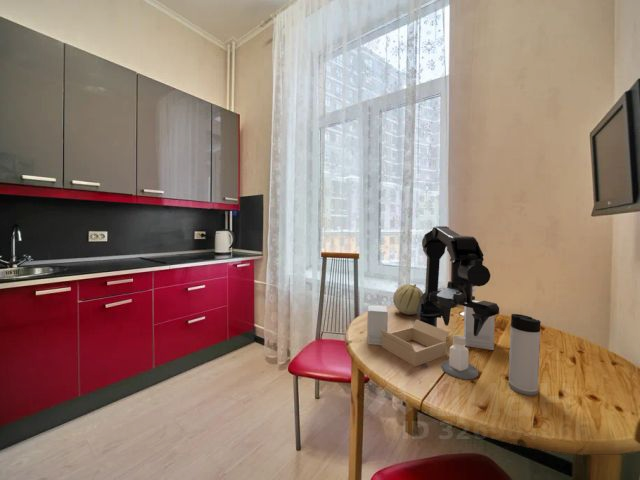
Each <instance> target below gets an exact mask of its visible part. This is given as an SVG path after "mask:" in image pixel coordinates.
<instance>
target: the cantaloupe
mask: <svg viewBox="0 0 640 480" xmlns="http://www.w3.org/2000/svg"><path fill="white" fill-rule="evenodd" d="M423 294H424V292H423V291H422V289H420V288H419V287H417V283H414V285H413V284H408V283H405V284H402V285H400V286H399V287H398V288H397V289H396V290H394V293H393V298H392V299H393V301H392V302H393V305H394V306H395V308H396V309H397V311H399V312H400V313H402V314H405V315H406V316H407V315H408V316H413V315H418V314H417V307H418V305H419V303H420V299H421V296H422V295H423Z"/></svg>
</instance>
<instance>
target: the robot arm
mask: <svg viewBox="0 0 640 480" xmlns="http://www.w3.org/2000/svg"><path fill="white" fill-rule="evenodd" d="M421 247H422V251H423V252H424V255H425V256H426V268H425V269H426V270H425V272H426V273H425V286H424V287H425V290H424V292H423V295H422V296H421V299H420V303H419V305H418V307H417V314H416V315H417V316H418V317H419V318H420V320H419V321H422V322H424V323H427V324H429V325H432V326H435V327H437V325H438V319H442V321H443V324H444V326H449V324H450V318H451V311H452V309H454V308H455V307H456V306H458V305H459V306H463V307H464V306H466V307H469V308H473V311H474V312H475V313H474V314H472V316H473V317H474V336H477V335H478V334H479V332H480V330H481V328H482V327H483V325H484V323H485V322H486V320H487V319H488V318H489V317H491V316H494V315H495V316H497V315H499V314H500V307H499V304H498V303H495V302H490V301H487V300H482V301H481V300H479V301H480V302H473V301H476V296H475V295H473V294H472V289H473V286H476V287H484V286H485V285H486V284H488V283H489V282H490V279H491V272H490V270H489V268H488V267H487V266H485V265H484V263H483V262H484V253H483V251H482V249H481V247H480V244H479V242H478V240H477V239H476V238H475V236H471V235H470V236H469V235H460V234H459V233H457V232H456V231H454V230H452V229H450V227H449V226H443V225H441V226H440V225H439V226H438V225H437V226H433V227H432V228H431V230H430V231H428V232H427V233H425V234H424V236H423V237H422V240H421ZM446 251H447V252H448V254H449V257H450V259H449V261H450V262H451V264H450V267H451V268H450V281H447V286H446V288H444V289H442V290H440V289H439V278H440V277H439V276H440V262H441V261H440V260H441V258H442V257H443V256H444V255H445V253H446ZM466 303H467V304H466ZM437 328H438V327H437Z"/></svg>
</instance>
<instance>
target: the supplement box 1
mask: <svg viewBox="0 0 640 480" xmlns="http://www.w3.org/2000/svg"><path fill="white" fill-rule="evenodd" d="M388 312H389V311H388V307H387V306H385V305H368V306H367V326H366V327H367V329H366V331H367V336H366V338H367V341H366V342H367V343H366V344H367V345H376V346H382V335H383V334H382V332H381V331H380V329H382V330H384V331H386V332H388V322H389V320H388V319H389V318H388Z"/></svg>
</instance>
